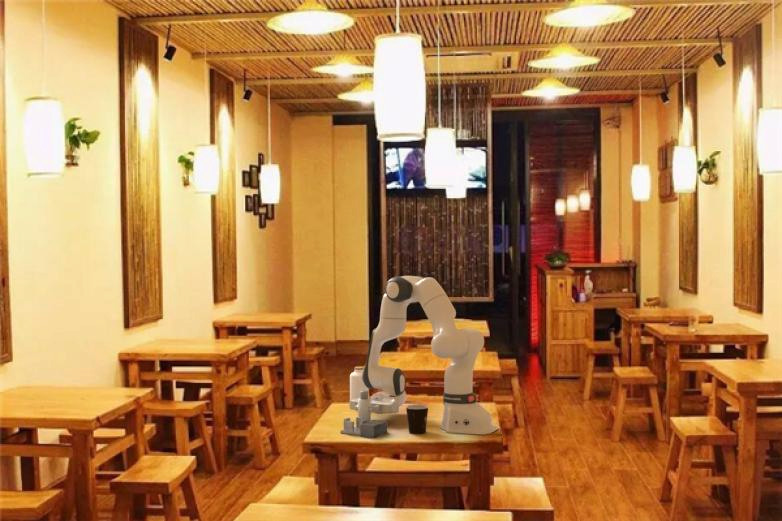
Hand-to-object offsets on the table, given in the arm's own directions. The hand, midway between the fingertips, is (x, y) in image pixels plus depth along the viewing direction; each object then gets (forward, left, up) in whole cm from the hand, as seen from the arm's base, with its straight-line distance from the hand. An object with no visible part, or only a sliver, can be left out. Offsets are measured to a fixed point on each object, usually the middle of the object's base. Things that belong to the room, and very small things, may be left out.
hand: (363, 408), depth 351 cm
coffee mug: (-24, +1, -7) cm, 25 cm away
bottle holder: (-7, +10, -7) cm, 14 cm away
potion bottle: (+21, -31, -7) cm, 38 cm away
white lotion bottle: (0, -1, -7) cm, 7 cm away
